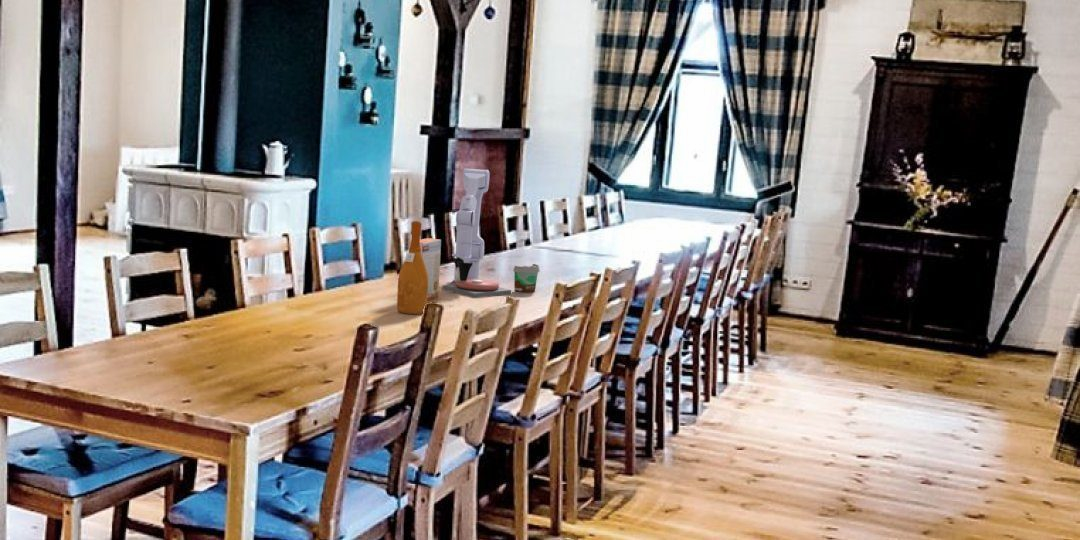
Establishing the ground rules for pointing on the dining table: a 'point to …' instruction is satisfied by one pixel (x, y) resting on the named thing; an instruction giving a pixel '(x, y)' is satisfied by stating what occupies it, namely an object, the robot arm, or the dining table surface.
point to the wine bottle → (413, 277)
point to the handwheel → (475, 283)
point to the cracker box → (431, 264)
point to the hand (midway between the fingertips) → (461, 279)
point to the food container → (525, 278)
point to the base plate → (476, 291)
